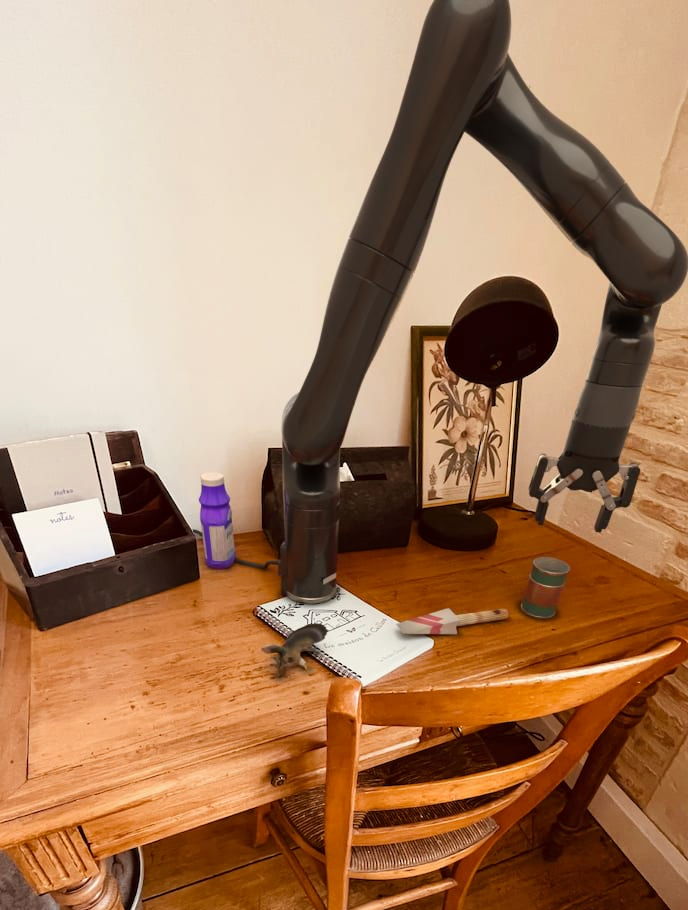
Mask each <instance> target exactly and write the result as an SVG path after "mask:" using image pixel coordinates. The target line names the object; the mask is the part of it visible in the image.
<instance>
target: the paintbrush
mask: <svg viewBox="0 0 688 910" xmlns="http://www.w3.org/2000/svg"><path fill="white" fill-rule="evenodd" d="M508 617H509V612H508V610H507V609H506V608H499V609H494V610H492V609H491V610H485V611H478V612H477V611H476V612H470V613H462V614H455V612H453V611H452V610H451V608H449V607H448V608H444V609H440V610H437V611H434V612H431V613H428V614H424V615H420V616H417V617H415V618H410V619H408V620H405V621H401V622H398V623H395V625H396V626H397V628H398V629H399V630H400V631H401V633H402V634H407V635H410V634H411V635H412V634H413V635H458V631H457V627H461V626H469V625H474V624H481V623H488V622H494V621H502V620H506V619H508Z"/></svg>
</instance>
